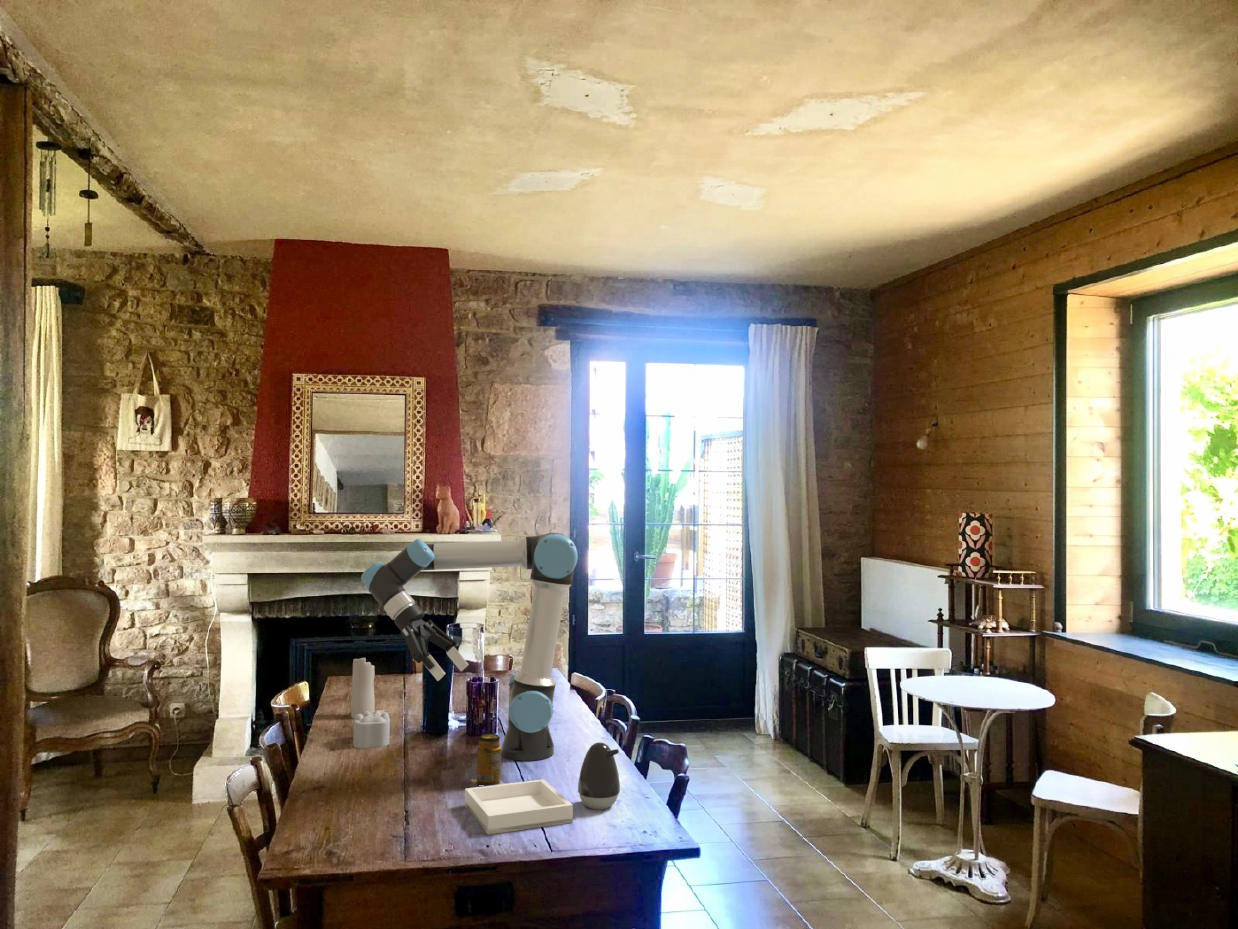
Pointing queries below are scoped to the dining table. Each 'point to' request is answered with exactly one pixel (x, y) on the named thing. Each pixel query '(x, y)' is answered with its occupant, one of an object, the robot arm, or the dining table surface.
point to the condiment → (488, 761)
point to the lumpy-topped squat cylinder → (371, 730)
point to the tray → (518, 806)
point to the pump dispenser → (599, 777)
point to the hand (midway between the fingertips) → (453, 672)
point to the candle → (363, 688)
